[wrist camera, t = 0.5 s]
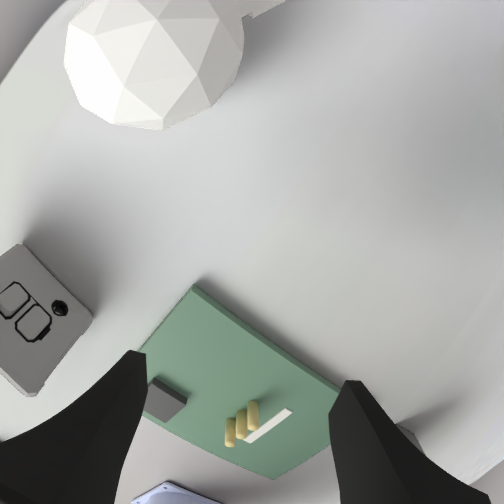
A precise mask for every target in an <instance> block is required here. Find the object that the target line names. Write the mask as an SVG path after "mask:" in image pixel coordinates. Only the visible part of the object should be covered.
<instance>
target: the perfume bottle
mask: <svg viewBox="0 0 504 504" xmlns="http://www.w3.org/2000/svg"><path fill="white" fill-rule="evenodd" d="M283 2H285V0H86V1H85V2H84V3H83V5H82V6H81V7H80V9H79V10H78V11H77V13H76V14H75V15H74V17H73V18H72V20H71V21H70V22H69V25H68V32H67V39H66V47H65V56H64V66H65V69H66V71H67V74H68V76H69V79H70V81H71V83H72V86H73V88H74V91H75V93H76V95H77V98H78V100H79V102H80V105H81V106H83V107H84V108H86V109H88V110H89V111H91V112H93V113H94V114H96V115H98V116H99V117H101V118H103V119H104V120H106V121H108V122H109V123H111V124H115V125H124V126H132V127H139V128H146V129H153V130H160V131H163V130H165V129H167V128H169V127H171V126H173V125H175V124H177V123H179V122H181V121H183V120H185V119H187V118H189V117H191V116H193V115H196V114H198V113H200V112H202V111H204V110H206V109H208V108H211V107H212V106H213V105H214V104H215V102H216V101H217V100H218V99H219V98H220V97H221V95H222V94H223V93H224V92H225V91H226V90H227V89H228V87H229V86H230V85H231V84H232V83H233V82H234V81H235V79H236V76H237V72H238V69H239V66H240V63H241V60H242V57H243V49H244V37H245V36H244V30H243V24H242V19H241V18H242V17H244V16H245V15H247V14H248V15H249V16H251V17H252V18H255V17H257V16H258V15H260V14H262V13H264V12H266V11H268V10H270V9H272V8H273V7H275V6H277V5H279V4H281V3H283Z"/></svg>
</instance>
